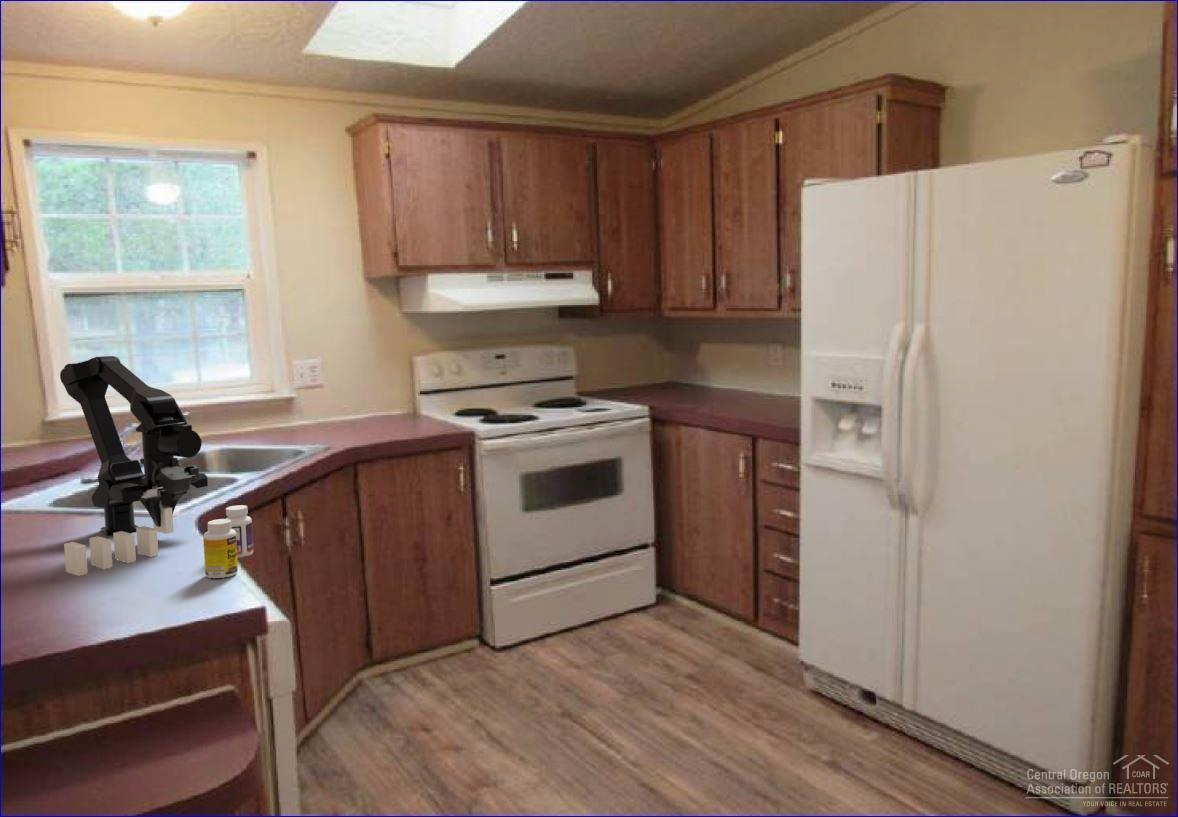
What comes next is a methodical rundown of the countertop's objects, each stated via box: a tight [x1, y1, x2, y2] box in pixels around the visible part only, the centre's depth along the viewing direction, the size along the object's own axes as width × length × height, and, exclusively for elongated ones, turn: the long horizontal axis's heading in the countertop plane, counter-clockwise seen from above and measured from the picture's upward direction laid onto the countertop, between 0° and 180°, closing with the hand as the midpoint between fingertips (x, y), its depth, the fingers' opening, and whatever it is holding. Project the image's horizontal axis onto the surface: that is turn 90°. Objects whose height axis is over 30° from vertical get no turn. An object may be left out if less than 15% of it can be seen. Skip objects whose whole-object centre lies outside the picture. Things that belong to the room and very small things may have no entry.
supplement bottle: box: [202, 518, 239, 580], centre depth 150 cm, size 6×6×10 cm
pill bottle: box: [225, 504, 254, 559], centre depth 162 cm, size 5×5×10 cm
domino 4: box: [135, 525, 160, 558], centre depth 162 cm, size 2×5×5 cm, turn 58°
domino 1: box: [63, 541, 89, 577], centre depth 151 cm, size 2×5×5 cm, turn 58°
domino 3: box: [112, 531, 137, 564], centre depth 159 cm, size 2×5×5 cm, turn 58°
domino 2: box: [89, 535, 113, 570], centre depth 155 cm, size 2×5×5 cm, turn 58°
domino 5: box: [152, 504, 174, 535], centre depth 173 cm, size 2×5×5 cm, turn 58°
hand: (162, 525), depth 173 cm, fingers closed on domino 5, 2 cm apart
